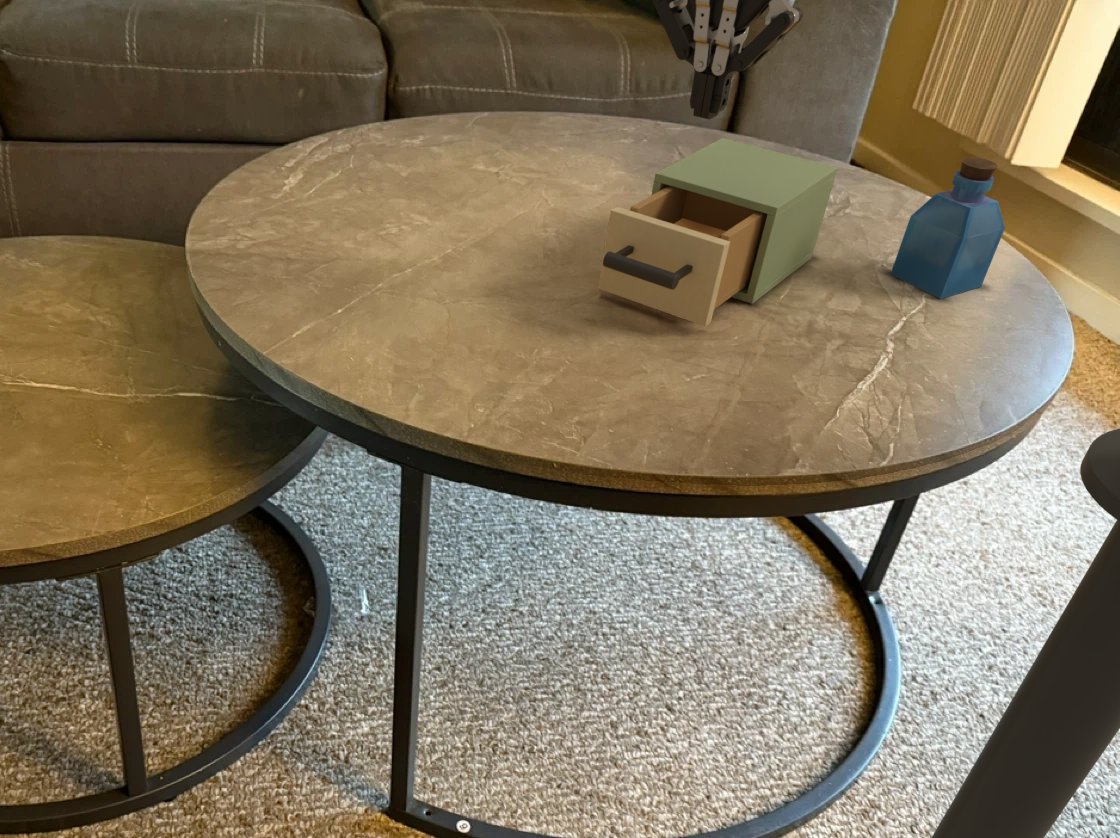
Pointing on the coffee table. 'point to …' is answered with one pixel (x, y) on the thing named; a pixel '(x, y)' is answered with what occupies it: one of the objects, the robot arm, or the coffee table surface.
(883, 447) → the coffee table surface
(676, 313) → the drawer
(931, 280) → the perfume bottle
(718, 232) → the block
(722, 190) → the cabinet
